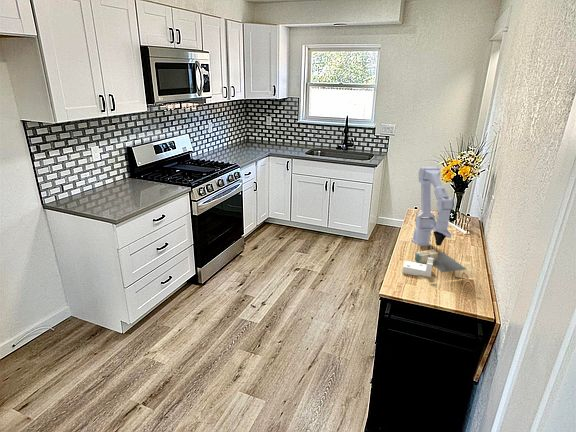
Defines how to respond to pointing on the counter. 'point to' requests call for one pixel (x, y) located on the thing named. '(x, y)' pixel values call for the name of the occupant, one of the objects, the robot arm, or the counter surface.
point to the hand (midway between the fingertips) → (438, 245)
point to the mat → (447, 263)
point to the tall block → (426, 255)
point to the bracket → (418, 268)
